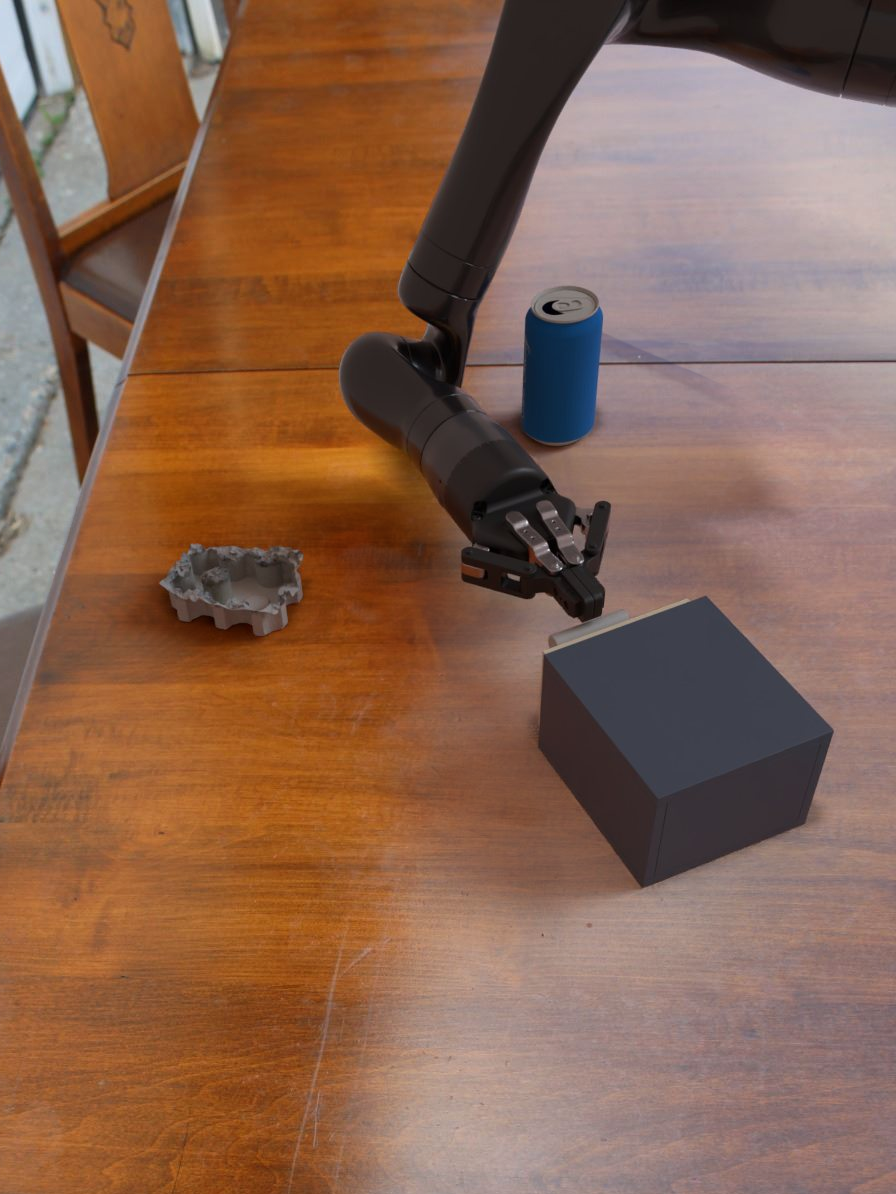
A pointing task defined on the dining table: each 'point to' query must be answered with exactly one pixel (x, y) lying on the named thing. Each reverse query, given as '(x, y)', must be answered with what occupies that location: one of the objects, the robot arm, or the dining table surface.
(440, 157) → the dining table surface
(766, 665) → the cabinet
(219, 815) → the dining table surface
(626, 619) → the drawer
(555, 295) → the beverage can
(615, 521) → the dining table surface
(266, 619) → the egg carton
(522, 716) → the dining table surface
